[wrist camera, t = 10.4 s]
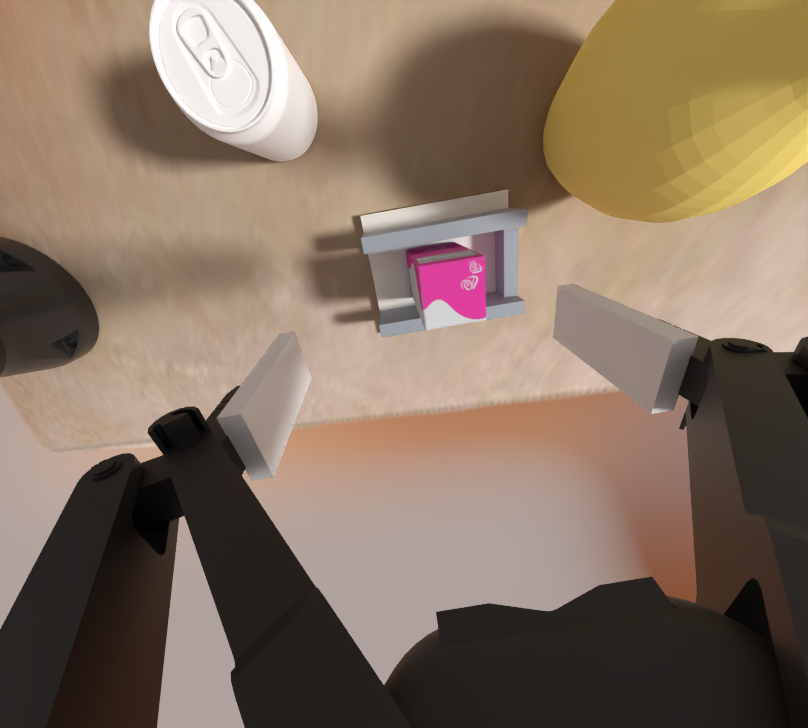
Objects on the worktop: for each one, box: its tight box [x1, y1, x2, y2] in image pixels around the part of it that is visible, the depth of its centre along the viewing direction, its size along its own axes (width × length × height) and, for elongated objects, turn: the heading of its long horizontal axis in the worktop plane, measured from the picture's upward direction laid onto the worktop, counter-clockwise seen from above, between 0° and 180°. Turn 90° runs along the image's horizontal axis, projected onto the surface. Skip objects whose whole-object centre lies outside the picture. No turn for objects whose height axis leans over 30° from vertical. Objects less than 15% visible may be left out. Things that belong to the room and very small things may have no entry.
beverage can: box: [149, 0, 318, 162], centre depth 24 cm, size 8×8×12 cm
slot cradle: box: [360, 190, 527, 338], centre depth 34 cm, size 16×14×6 cm
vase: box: [543, 0, 808, 223], centre depth 19 cm, size 16×16×28 cm
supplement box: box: [406, 242, 486, 330], centre depth 31 cm, size 6×6×12 cm
